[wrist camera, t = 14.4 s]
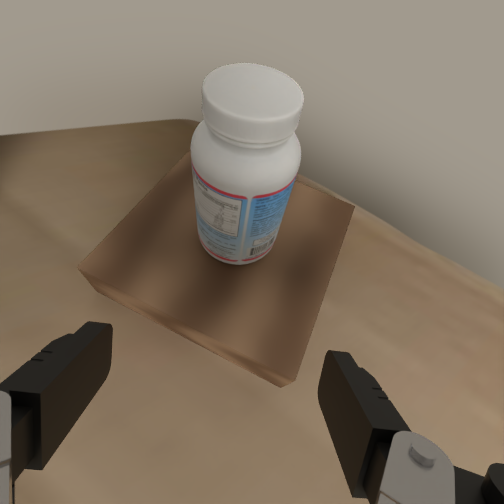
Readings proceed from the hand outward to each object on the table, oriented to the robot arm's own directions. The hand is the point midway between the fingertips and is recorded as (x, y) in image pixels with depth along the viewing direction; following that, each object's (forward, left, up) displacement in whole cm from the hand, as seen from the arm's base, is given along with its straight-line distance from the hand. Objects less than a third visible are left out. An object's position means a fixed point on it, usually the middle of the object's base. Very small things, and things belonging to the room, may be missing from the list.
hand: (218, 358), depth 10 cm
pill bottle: (-4, +10, -7) cm, 13 cm away
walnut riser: (-4, +10, -11) cm, 15 cm away
